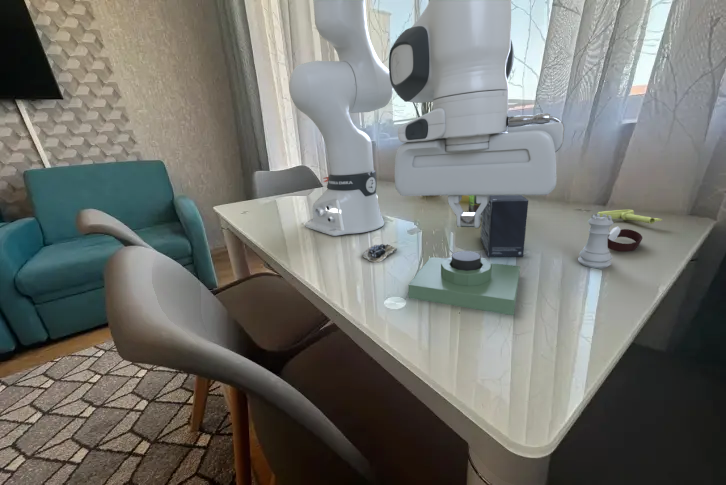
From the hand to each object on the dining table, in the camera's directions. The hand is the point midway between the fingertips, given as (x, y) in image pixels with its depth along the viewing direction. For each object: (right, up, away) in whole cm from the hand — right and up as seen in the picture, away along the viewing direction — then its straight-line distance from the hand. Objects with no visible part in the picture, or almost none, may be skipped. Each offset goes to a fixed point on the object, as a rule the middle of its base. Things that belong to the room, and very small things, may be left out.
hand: (468, 226), depth 45 cm
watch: (+32, -3, +13) cm, 34 cm away
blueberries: (-11, -5, +20) cm, 23 cm away
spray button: (0, -6, +2) cm, 6 cm away
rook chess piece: (+23, -6, +7) cm, 25 cm away
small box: (+12, -3, +18) cm, 22 cm away
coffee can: (+19, +5, +42) cm, 46 cm away
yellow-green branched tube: (+43, +4, +25) cm, 50 cm away
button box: (+1, -9, +4) cm, 10 cm away
